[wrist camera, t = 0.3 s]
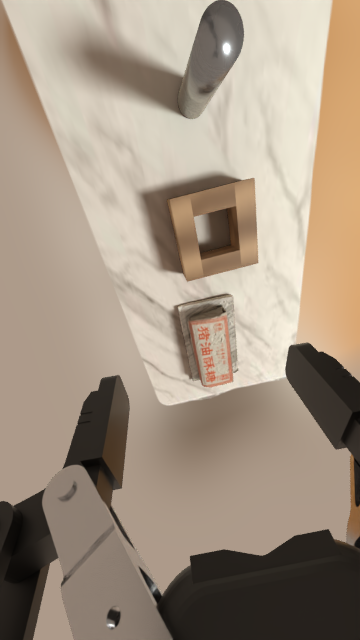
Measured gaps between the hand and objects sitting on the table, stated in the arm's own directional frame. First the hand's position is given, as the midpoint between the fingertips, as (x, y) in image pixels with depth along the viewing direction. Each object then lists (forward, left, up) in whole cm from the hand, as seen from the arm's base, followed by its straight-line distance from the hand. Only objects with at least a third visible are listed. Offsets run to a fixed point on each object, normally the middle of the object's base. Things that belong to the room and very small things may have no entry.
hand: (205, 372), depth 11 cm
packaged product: (+19, +4, -28) cm, 34 cm away
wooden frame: (-1, +8, -28) cm, 29 cm away
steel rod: (-16, +8, -28) cm, 33 cm away
